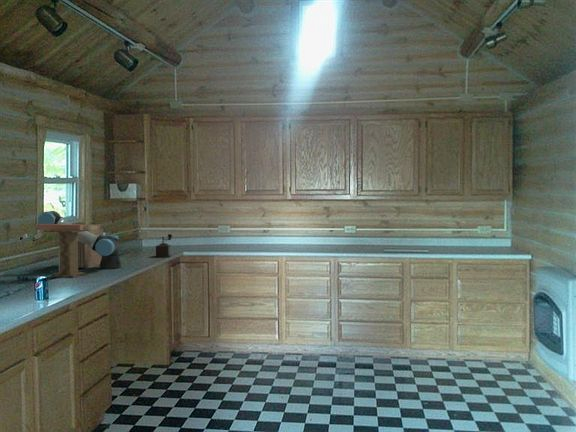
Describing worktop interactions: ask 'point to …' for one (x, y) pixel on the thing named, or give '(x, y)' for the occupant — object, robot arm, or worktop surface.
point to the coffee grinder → (164, 248)
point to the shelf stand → (68, 254)
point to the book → (89, 248)
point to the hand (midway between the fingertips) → (34, 234)
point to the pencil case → (59, 226)
